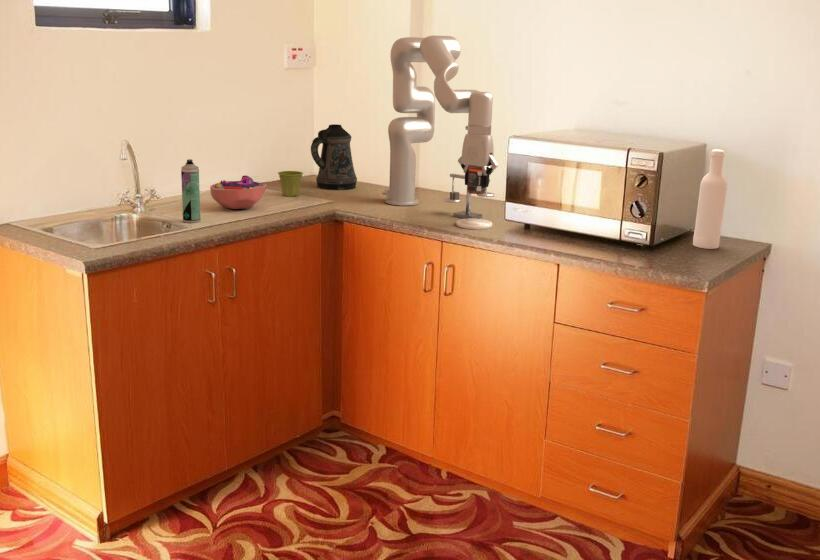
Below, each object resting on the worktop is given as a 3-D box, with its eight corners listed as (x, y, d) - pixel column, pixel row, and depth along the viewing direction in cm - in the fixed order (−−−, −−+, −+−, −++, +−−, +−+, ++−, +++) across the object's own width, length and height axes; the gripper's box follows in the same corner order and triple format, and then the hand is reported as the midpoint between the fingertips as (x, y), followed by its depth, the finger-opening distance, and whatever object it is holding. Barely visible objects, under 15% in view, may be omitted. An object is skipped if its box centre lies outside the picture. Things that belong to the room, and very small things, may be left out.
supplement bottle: (483, 195, 282) (485, 160, 278) (465, 193, 283) (467, 159, 280) (486, 192, 287) (487, 158, 284) (468, 191, 288) (470, 157, 285)
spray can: (194, 218, 284) (192, 158, 278) (203, 221, 280) (201, 160, 274) (179, 220, 280) (177, 159, 274) (188, 223, 276) (186, 161, 271)
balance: (439, 213, 305) (441, 173, 302) (450, 211, 310) (451, 172, 306) (486, 222, 293) (488, 181, 289) (496, 220, 298) (498, 179, 294)
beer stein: (363, 185, 356) (364, 124, 349) (343, 192, 339) (344, 128, 332) (327, 182, 362) (327, 121, 355) (305, 189, 344) (305, 125, 337)
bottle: (688, 242, 274) (700, 148, 266) (712, 243, 274) (725, 148, 266) (698, 249, 266) (710, 151, 258) (723, 249, 267) (736, 152, 259)
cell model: (201, 207, 302) (200, 175, 299) (250, 201, 315) (250, 170, 312) (225, 215, 290) (224, 182, 287) (276, 209, 303) (275, 177, 300)
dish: (449, 225, 287) (449, 221, 287) (470, 220, 296) (470, 216, 296) (478, 231, 280) (478, 227, 280) (499, 225, 289) (499, 222, 288)
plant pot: (301, 198, 326) (301, 175, 323) (276, 197, 326) (276, 174, 323) (304, 193, 335) (304, 171, 332) (280, 192, 335) (280, 170, 332)
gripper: (451, 129, 282) (448, 183, 287) (494, 133, 271) (491, 190, 276) (464, 127, 288) (462, 181, 292) (508, 132, 277) (504, 188, 282)
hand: (476, 185), depth 284 cm, fingers closed on supplement bottle, 6 cm apart
